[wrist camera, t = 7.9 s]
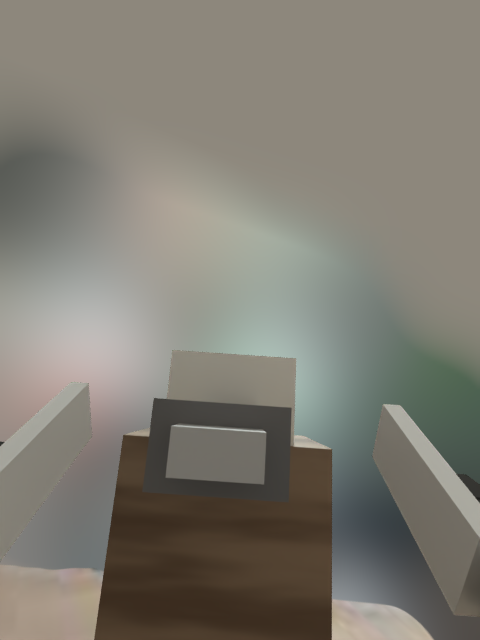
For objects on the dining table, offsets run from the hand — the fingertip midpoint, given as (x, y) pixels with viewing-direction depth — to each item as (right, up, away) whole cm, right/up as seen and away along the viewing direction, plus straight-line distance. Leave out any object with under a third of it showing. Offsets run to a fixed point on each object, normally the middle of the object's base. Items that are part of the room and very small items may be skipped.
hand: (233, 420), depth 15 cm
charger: (0, -3, +5) cm, 6 cm away
